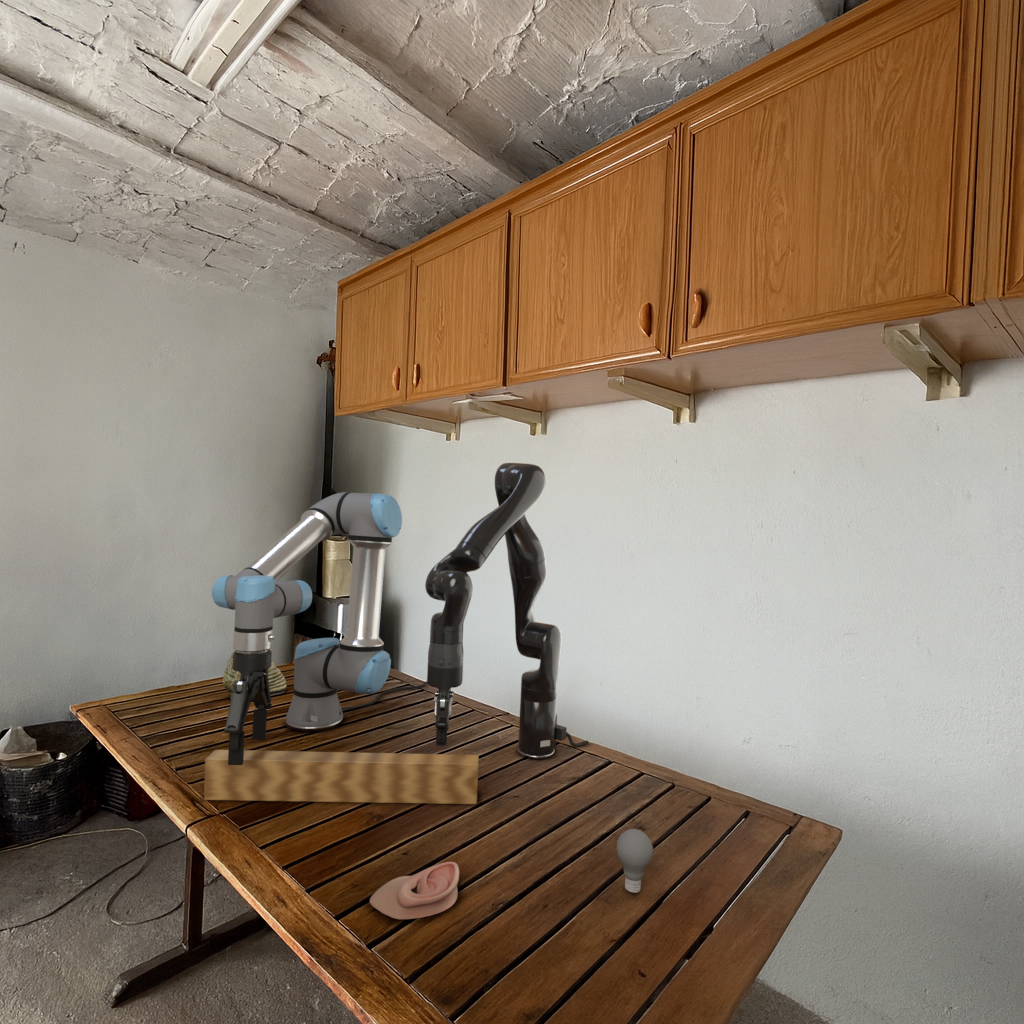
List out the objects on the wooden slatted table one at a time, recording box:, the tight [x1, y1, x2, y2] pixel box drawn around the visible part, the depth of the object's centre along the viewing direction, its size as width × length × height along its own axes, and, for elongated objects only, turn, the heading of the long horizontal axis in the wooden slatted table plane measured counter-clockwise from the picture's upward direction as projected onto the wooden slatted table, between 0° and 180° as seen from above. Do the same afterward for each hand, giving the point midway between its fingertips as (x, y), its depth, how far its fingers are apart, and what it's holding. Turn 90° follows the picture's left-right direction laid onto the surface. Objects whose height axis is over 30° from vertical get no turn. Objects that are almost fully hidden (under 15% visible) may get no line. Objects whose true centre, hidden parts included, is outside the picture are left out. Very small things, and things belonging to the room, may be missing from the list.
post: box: [203, 749, 479, 805], centre depth 134 cm, size 56×5×8 cm, turn 93°
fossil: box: [222, 650, 288, 699], centre depth 198 cm, size 9×18×15 cm, turn 132°
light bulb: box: [615, 828, 654, 894], centre depth 106 cm, size 6×6×10 cm
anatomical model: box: [369, 861, 460, 920], centre depth 101 cm, size 13×4×12 cm
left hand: (247, 751), depth 133 cm, fingers open, 13 cm apart
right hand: (442, 737), depth 135 cm, fingers open, 8 cm apart
